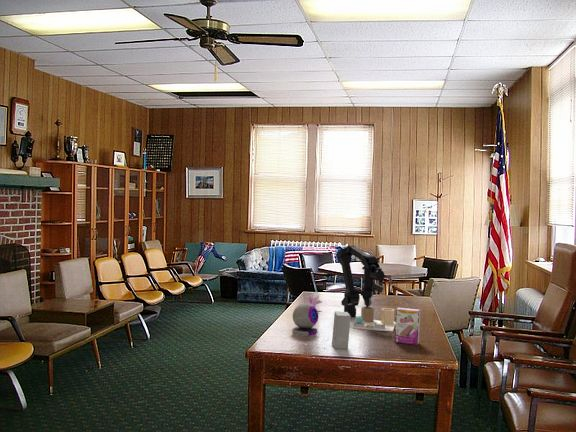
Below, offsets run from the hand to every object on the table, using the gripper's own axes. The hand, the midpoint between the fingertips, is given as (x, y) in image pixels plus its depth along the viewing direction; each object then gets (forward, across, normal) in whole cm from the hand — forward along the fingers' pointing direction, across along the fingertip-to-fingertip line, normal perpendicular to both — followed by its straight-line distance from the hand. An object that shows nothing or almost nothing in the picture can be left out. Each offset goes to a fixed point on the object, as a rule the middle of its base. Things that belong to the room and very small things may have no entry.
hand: (367, 306), depth 329 cm
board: (+9, -7, -5) cm, 12 cm away
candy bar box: (+9, -40, -24) cm, 47 cm away
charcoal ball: (-2, 0, 0) cm, 2 cm away
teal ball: (+5, -15, +2) cm, 16 cm away
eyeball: (+9, -38, +27) cm, 47 cm away
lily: (+9, +20, +36) cm, 42 cm away
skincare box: (+9, -59, +5) cm, 59 cm away
